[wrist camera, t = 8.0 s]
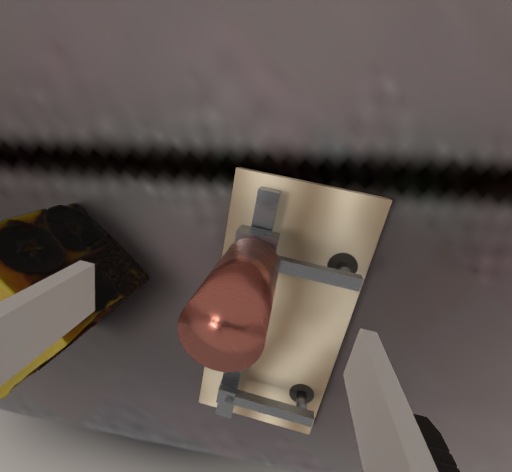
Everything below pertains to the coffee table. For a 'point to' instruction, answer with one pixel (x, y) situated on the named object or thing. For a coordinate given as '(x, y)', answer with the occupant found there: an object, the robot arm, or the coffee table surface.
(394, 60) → the coffee table surface
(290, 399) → the board
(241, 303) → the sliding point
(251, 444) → the coffee table surface
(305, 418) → the rail
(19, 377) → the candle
